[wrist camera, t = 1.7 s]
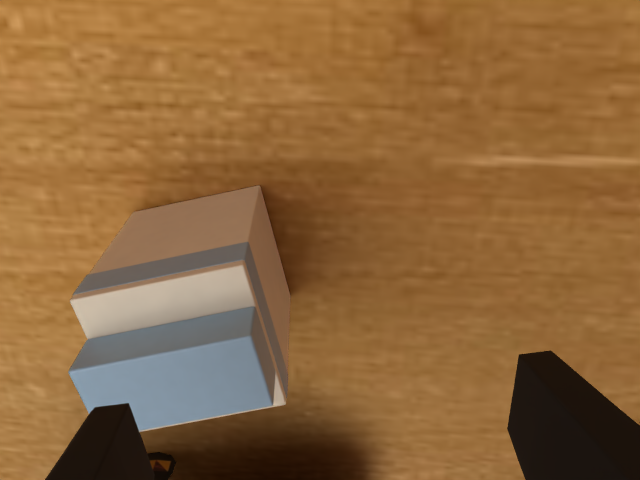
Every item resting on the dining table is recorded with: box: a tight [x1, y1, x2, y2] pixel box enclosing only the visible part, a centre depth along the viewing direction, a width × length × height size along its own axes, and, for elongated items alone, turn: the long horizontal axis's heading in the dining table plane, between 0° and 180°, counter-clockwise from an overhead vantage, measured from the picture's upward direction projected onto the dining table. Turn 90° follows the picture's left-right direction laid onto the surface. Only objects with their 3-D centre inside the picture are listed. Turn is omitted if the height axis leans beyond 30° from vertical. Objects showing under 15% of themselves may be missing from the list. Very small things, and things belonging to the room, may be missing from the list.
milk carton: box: [69, 185, 291, 432], centre depth 19 cm, size 5×5×8 cm
